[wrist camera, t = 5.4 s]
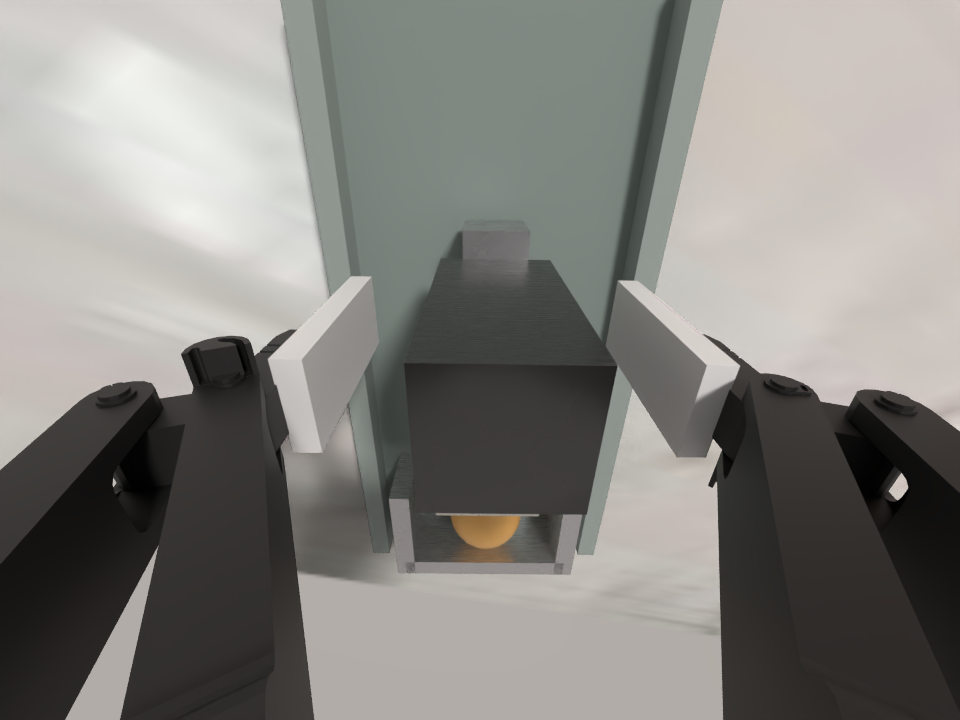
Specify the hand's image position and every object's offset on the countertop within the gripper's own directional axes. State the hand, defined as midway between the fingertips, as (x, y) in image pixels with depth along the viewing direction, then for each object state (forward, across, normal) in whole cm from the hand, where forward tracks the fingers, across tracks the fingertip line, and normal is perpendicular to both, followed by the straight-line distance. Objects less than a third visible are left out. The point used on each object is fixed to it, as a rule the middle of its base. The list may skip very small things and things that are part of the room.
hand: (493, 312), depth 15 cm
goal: (+4, 0, -13) cm, 14 cm away
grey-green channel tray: (+4, 0, -3) cm, 5 cm away
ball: (+2, 0, -12) cm, 13 cm away
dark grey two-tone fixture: (+3, 0, -4) cm, 5 cm away
